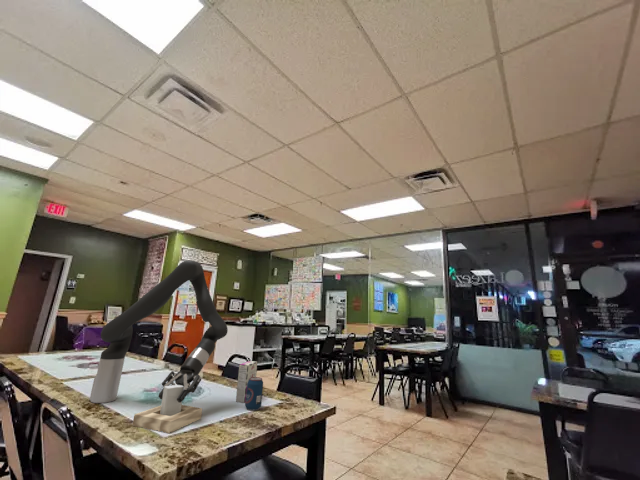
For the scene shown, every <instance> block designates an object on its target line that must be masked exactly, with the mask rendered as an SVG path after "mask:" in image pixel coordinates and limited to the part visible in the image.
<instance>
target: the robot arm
mask: <svg viewBox="0 0 640 480" xmlns="http://www.w3.org/2000/svg"><path fill="white" fill-rule="evenodd" d="M186 282H190V284H191V285H192V287H193V289H194V293H195V301H196V306H197V309H198V311H199V315H200V317H201V319H202V321H203V322H204V323H209V324H210V326H209V327H208V328H207V330H205V332H204V333H203V335H202V337H201V339H200V341H199V343H198V344H197V345H196V347H195V348H194V349H193V351H191V353H190V354H189V355H188V356H187V358H186V359H185V361H184V362H183V363H182V365H181V366H180V369H179V371H178V372H174V370H172V371H170V373H168V375H167V376H166V377H165V379H164V380H163V381H162V382H161V385H162V387H163V388H162V389H161V391H160V392H159V393H158V398H159V400H162V397H163V390H164V386H171V385H182V386H184V390H183V391H182V392H181V393H180V395H179V396H178V398H177V401H178V402H179V403H181V402H182V403H183V401H185V398H186V397H187V395H188V394H190V393H191V394H192V393H195V391H196V389H197V388H198V386H199V385H200V382H201V381H202V377H201V376H200V373H201V371H202V370H203V368H204V366H205V365H206V364H207V362H208V360H209V359H210V356H211V355H212V353H214V350H215V348H216V343H217V342H218V341H219V340H222V339H223V338H225V337H226V336H227V334H228V325H227V324H226V322H225V320H224V319H223V317H222V316H221V315H220V314H219V313H218V311H217V308H216V306H215V303H214V301H213V299H212V296H211V293H210V291H209V287H208V284H207V281H206V277H205V272H204V268H203V266H202V265H201V263H200V262H199V261H196V260H191V259H190V260H187V259H186V260H185V261H182V262H180V264H178V265H177V267H175V268H174V269H173V270H172V271H171V273H169V274H168V275H167V276H166V277H164V279H162V280H161V281H160V282H159V283H158V284H156V285H155V286H154V287H152V289H150V290H148V291H147V292H146V293H145V294H143V296H142V297H141V298H139V299H138V300H137V301H136V302H135V303H133V304H132V305H131V306H129V307H128V308H127V309H126V310H124V312H122V313H121V314H119V315H118V316H115V318H113V319H112V320H110V321H109V322H108V323H106V324H105V325H104V326H103V328H102V329H101V332H100V338H101V340H102V341H103V342H105V343H110V344H109V345H108V347H107V348H106V349H103V351H102V352H101V354H100V357H99V362H98V366H97V372H96V375H95V376H94V377H93V382H92V387H91V391H90V395H89V401H90V402H91V403H95V404H102V403H103V404H105V403H110V402H113V401H116V400H117V398H118V393H119V387H120V383H121V379H122V373H123V368H124V362H125V360H126V359H125V358H126V354H127V353H128V352H129V350H130V346H131V342H132V341H131V340H132V338H133V337H132V336H133V333H134V331H133V325H134V324H136V323H137V322H140V321H141V320H143V319H146V318H148V317H150V316H151V315H153V314H155V313H156V312H157V311H159V310H160V309H161V308H162V307H164V306H165V305H166V304H167V303H168V302H169V300H171V297H172V296H173V294H174V293H175V292H176V291H177V289H179V288H180V287H181V286H183V285H184V284H185V283H186Z"/></svg>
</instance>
